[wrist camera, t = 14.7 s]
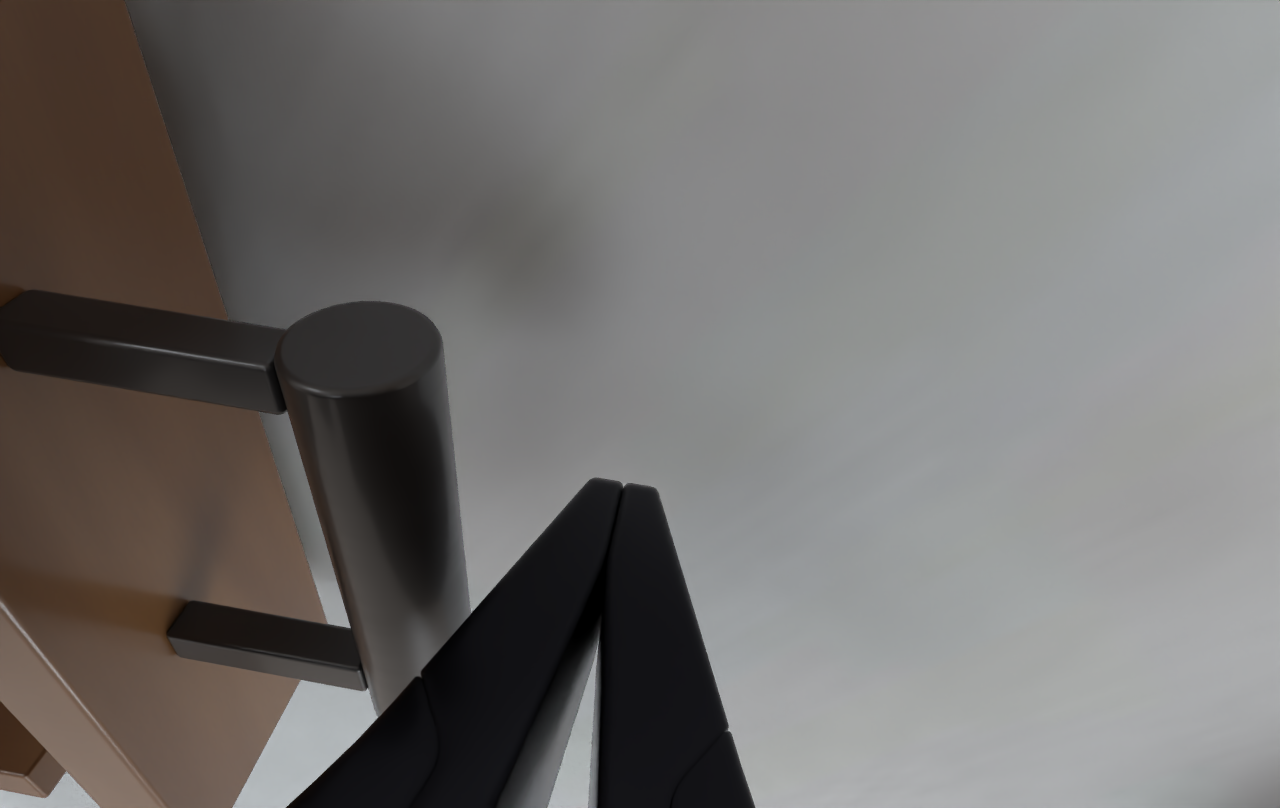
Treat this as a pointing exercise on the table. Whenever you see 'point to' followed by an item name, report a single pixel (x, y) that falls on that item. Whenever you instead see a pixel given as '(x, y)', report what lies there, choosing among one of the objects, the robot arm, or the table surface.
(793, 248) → the table surface
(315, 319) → the drawer
